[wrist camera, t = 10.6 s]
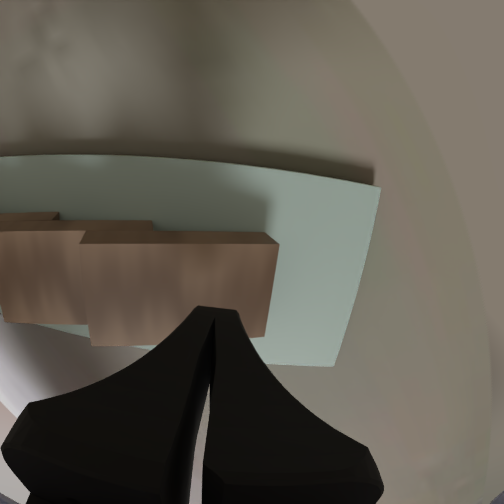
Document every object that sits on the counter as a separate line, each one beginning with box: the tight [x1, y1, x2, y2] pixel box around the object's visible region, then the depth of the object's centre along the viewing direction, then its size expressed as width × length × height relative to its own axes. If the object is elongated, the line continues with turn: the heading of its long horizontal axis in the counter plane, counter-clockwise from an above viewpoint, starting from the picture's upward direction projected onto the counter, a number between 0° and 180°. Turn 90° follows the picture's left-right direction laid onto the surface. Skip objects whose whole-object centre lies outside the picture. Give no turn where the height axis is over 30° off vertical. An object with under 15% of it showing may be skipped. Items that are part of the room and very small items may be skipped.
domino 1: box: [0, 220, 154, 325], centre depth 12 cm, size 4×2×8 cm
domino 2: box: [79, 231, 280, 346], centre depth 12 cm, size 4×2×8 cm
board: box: [0, 154, 381, 367], centre depth 14 cm, size 10×28×1 cm, turn 83°
